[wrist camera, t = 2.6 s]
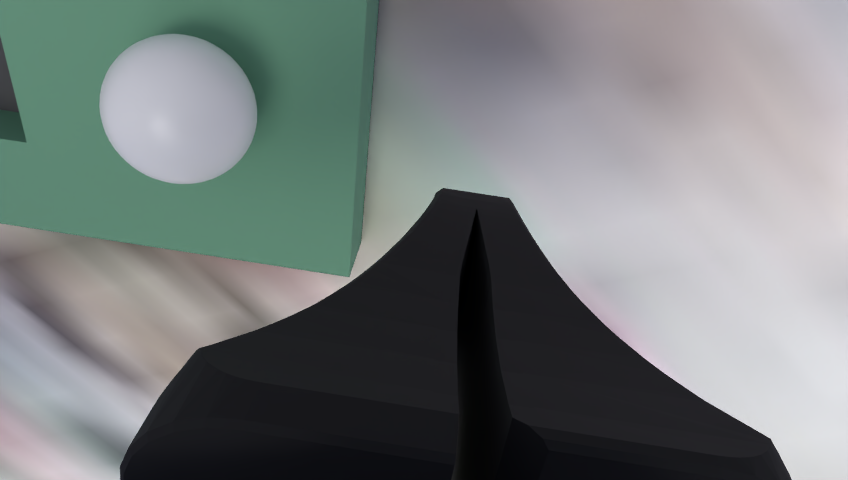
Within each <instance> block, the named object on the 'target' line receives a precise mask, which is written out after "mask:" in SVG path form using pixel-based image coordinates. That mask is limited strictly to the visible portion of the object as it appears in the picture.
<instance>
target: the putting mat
mask: <svg viewBox="0 0 848 480" xmlns="http://www.w3.org/2000/svg"><path fill="white" fill-rule="evenodd" d="M378 7H379V0H0V223H1V224H8V225H14V226H21V227H27V228H34V229H40V230H47V231H53V232H60V233H66V234H73V235H79V236H86V237H92V238H99V239H105V240H112V241H118V242H125V243H131V244H138V245H144V246H151V247H157V248H164V249H170V250H177V251H183V252H190V253H196V254H203V255H209V256H216V257H222V258H229V259H235V260H242V261H248V262H255V263H261V264H268V265H274V266H281V267H287V268H294V269H300V270H307V271H313V272H320V273H326V274H333V275H339V276H346V277H349V276H350V273H351V270H352V267H353V264H354V261H355V259H356V256H357V253H358V250H359V247H360V244H361V236H362V222H363V209H364V195H365V182H366V168H367V155H368V142H369V128H370V115H371V101H372V88H373V74H374V61H375V47H376V34H377V20H378ZM163 34H183V35H188V36H193V37H197V38H200V39H203V40H206V41H208V42H210V43H212V44H214V45H215V46H217V47H219V48H220V49H222V50H223V51H224V52H226V53H227V54H228V55H229V56H231V57H232V58H233V59H234V60H235V61H236V62H237V64H238V65H239V66H240V67H241V68H242V70H243V71H244V73H245V75H246V76H247V78H248V80H249V82H250V84H251V86H252V89H253V91H254V94H255V99H256V104H257V125H256V130H255V134H254V137H253V140H252V142H251V144H250V146H249V148H248V150H247V151H246V153H245V154H244V156H243V157H242V158H241V160H240V161H239V162H238V163H237V164H235V165H234V166H233V167H232V168H231V169H230V170H228V171H227V172H225V173H224V174H222V175H220V176H218V177H216V178H214V179H211V180H207V181H204V182H201V183H194V184H174V183H168V182H164V181H160V180H157V179H154V178H151V177H149V176H147V175H145V174H143V173H141V172H139V171H138V170H136V169H135V168H134V167H132V166H131V165H130V164H128V163H127V162H126V161H125V160H124V159H123V158H122V157H121V156H120V155H119V154H118V152H117V151H116V150H115V149H114V147H113V146H112V144H111V143H110V141H109V139H108V137H107V135H106V133H105V130H104V127H103V124H102V120H101V116H100V108H99V103H100V91H101V86H102V83H103V80H104V78H105V75H106V73H107V71H108V69H109V68H110V66H111V65H112V63H113V62H114V61H115V60H116V58H117V57H118V56H119V55H120V54H121V53H122V52H123V51H125V50H126V49H127V48H128V47H130V46H131V45H133V44H135V43H136V42H139V41H141V40H144V39H146V38H149V37H152V36H157V35H163Z"/></svg>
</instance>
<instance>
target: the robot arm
mask: <svg viewBox="0 0 848 480" xmlns="http://www.w3.org/2000/svg"><path fill="white" fill-rule="evenodd" d="M120 480H792V479H791V477H790V475H789V473H788V471H787V469H786V467H785V465H784V463H783V461H782V459H781V457H780V455H779V453H778V452H777V450H776V448H775V446H774V444H773V443H772V441H771V439H770V438H768V437H766V436H765V435H763V434H761V433H759V432H758V431H756V430H754V429H753V428H751V427H749V426H747V425H746V424H744V423H742V422H740V421H739V420H737V419H735V418H733V417H732V416H730V415H728V414H727V413H725V412H723V411H721V410H720V409H718V408H716V407H714V406H713V405H711V404H709V403H708V402H706V401H704V400H703V399H701V398H700V397H698V396H697V395H695V394H694V393H692V392H691V391H689V390H688V389H686V388H685V387H683V386H682V385H680V384H679V383H677V382H676V381H674V380H673V379H672V378H670V377H669V376H667V375H666V374H664V373H663V372H662V371H660V370H659V369H658V368H656V367H655V366H654V365H652V364H651V363H650V362H648V361H647V360H646V359H644V358H643V357H642V356H641V355H639V354H638V353H637V352H636V351H635V350H633V349H632V348H631V347H630V346H628V345H627V344H626V343H625V342H624V341H622V340H621V339H620V338H619V337H618V336H617V335H615V334H614V333H613V332H612V331H611V330H610V329H609V328H608V327H607V326H605V325H604V324H603V323H602V322H601V321H600V320H599V319H598V318H597V317H596V316H595V315H594V314H593V313H592V312H591V311H590V310H589V309H588V308H587V307H586V306H585V305H584V304H583V303H582V302H581V301H580V299H579V298H578V297H577V296H576V295H575V294H574V293H573V292H572V290H571V289H570V288H569V287H568V286H567V284H566V283H565V282H564V281H563V280H562V278H561V277H560V276H559V275H558V273H557V272H556V271H555V269H554V268H553V267H552V265H551V264H550V262H549V261H548V260H547V258H546V257H545V255H544V254H543V252H542V251H541V249H540V248H539V246H538V245H537V243H536V242H535V240H534V239H533V237H532V235H531V234H530V232H529V230H528V229H527V227H526V225H525V224H524V222H523V220H522V219H521V217H520V215H519V213H518V211H517V210H516V208H515V206H514V204H513V203H512V201H511V200H510V199H509V198H504V197H498V196H491V195H485V194H478V193H472V192H465V191H458V190H452V189H445V188H443V189H441V190H440V191H438V192H436V194H435V197H434V198H433V200H432V202H431V203H430V205H429V206H428V208H427V209H426V210H425V212H424V213H423V214H422V216H421V217H420V218H419V219H418V221H417V222H416V223H415V224H414V225H413V226H412V227H411V229H410V230H409V231H408V232H407V233H406V234H405V235H404V236H403V237H402V239H401V240H400V241H399V242H397V243H396V244H395V245H394V246H393V247H392V248H391V249H390V250H389V251H388V252H387V253H386V254H385V255H384V256H383V257H382V258H380V259H379V260H378V261H377V262H376V263H375V264H373V265H372V266H371V267H370V268H369V269H367V270H366V271H365V272H363V273H362V274H361V275H359V276H358V277H357V278H355V279H354V280H353V281H351V282H350V283H348V284H347V285H346V286H344V287H342V288H341V289H339V290H338V291H336V292H334V293H333V294H331V295H330V296H328V297H326V298H325V299H323V300H321V301H320V302H318V303H316V304H314V305H312V306H310V307H309V308H306V309H304V310H302V311H300V312H298V313H296V314H294V315H292V316H290V317H287V318H285V319H282V320H280V321H278V322H275V323H273V324H271V325H268V326H266V327H263V328H260V329H258V330H255V331H252V332H249V333H246V334H243V335H240V336H237V337H234V338H231V339H228V340H225V341H222V342H219V343H216V344H213V345H209V346H206V347H202V348H199V349H198V350H196V351H195V353H194V354H193V355H192V356H191V358H190V359H189V360H188V361H187V363H186V364H185V365H184V366H183V368H182V369H181V370H180V371H179V372H178V374H177V375H176V376H175V377H174V378H173V380H172V381H171V382H170V384H169V385H168V386H167V387H166V389H165V390H164V391H163V393H162V394H161V395H160V397H159V398H158V400H157V402H156V403H155V405H154V406H153V408H152V410H151V411H150V413H149V415H148V416H147V418H146V420H145V421H144V423H143V424H142V426H141V428H140V429H139V431H138V433H137V434H136V436H135V438H134V439H133V441H132V443H131V444H130V446H129V448H128V450H127V452H126V454H125V457H124V459H123V461H122V463H121V465H120Z"/></svg>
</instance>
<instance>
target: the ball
mask: <svg viewBox="0 0 848 480" xmlns="http://www.w3.org/2000/svg"><path fill="white" fill-rule="evenodd" d="M99 108H100V116H101V120H102V124H103V127H104V130H105V133H106V135H107V137H108V139H109V141H110V143H111V144H112V146H113V147H114V149H115V150H116V151H117V152H118V154H119V155H120V156H121V157H122V158H123V159H124V160H125V161H126V162H127V163H128V164H130V165H131V166H132V167H134V168H135V169H136V170H138V171H139V172H141V173H143V174H145V175H147V176H149V177H151V178H154V179H157V180H160V181H164V182H168V183H174V184H194V183H201V182H204V181H207V180H211V179H214V178H216V177H218V176H220V175H222V174H224V173H225V172H227V171H228V170H230V169H231V168H232V167H233V166H234V165H235V164H237V163H238V162H239V161H240V160H241V158H242V157H243V156H244V154H245V153H246V151H247V150H248V148H249V146H250V144H251V142H252V140H253V137H254V134H255V130H256V125H257V104H256V99H255V94H254V91H253V89H252V86H251V84H250V82H249V80H248V78H247V76H246V75H245V73H244V71H243V70H242V68H241V67H240V66H239V65H238V64H237V62H236V61H235V60H234V59H233V58H232V57H231V56H229V55H228V54H227V53H226V52H224V51H223V50H222V49H220V48H219V47H217V46H215V45H214V44H212V43H210V42H208V41H206V40H203V39H200V38H197V37H193V36H188V35H183V34H163V35H157V36H152V37H149V38H146V39H144V40H141V41H139V42H136V43H135V44H133V45H131V46H130V47H128V48H127V49H126V50H125V51H123V52H122V53H121V54H120V55H119V56H118V57H117V58H116V60H115V61H114V62H113V63H112V65H111V66H110V68H109V69H108V71H107V73H106V75H105V78H104V80H103V83H102V86H101V91H100V103H99Z"/></svg>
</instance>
